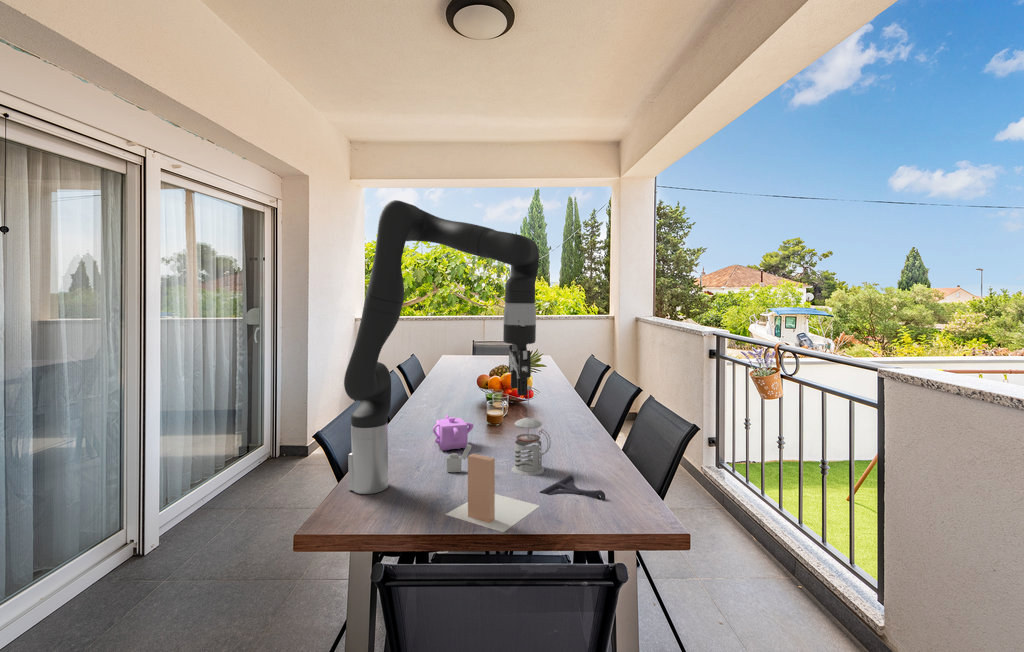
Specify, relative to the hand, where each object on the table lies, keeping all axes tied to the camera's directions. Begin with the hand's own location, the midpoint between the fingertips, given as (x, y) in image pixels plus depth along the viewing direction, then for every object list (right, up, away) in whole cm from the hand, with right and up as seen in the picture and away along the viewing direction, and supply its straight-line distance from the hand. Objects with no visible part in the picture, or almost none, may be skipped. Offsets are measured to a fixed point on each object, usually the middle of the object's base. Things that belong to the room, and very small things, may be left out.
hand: (518, 391), depth 116 cm
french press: (+4, -27, +29) cm, 40 cm away
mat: (-6, -28, 0) cm, 29 cm away
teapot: (-22, -26, +52) cm, 62 cm away
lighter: (-17, -27, +27) cm, 42 cm away
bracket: (+16, -29, +12) cm, 35 cm away
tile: (-9, -28, -4) cm, 30 cm away
